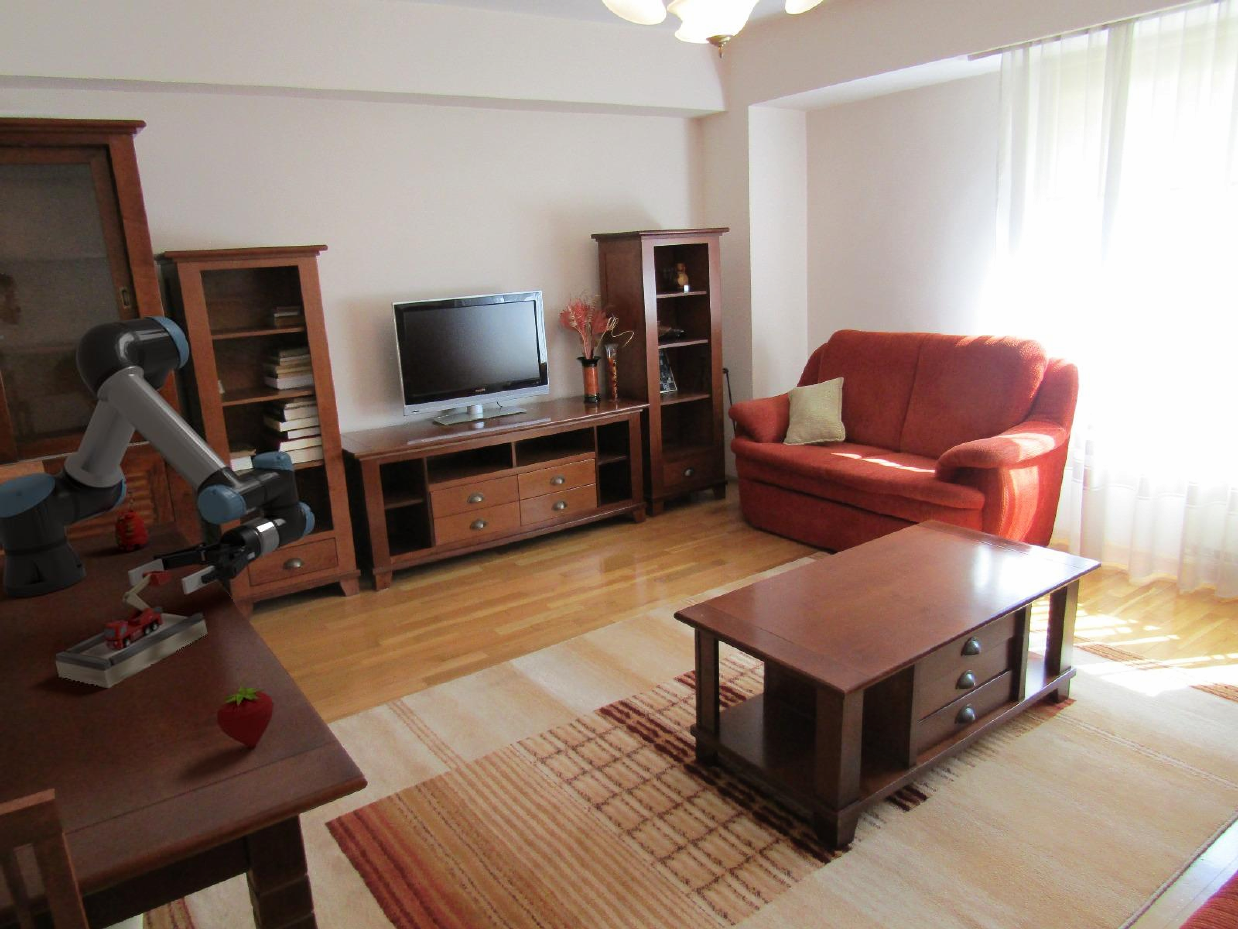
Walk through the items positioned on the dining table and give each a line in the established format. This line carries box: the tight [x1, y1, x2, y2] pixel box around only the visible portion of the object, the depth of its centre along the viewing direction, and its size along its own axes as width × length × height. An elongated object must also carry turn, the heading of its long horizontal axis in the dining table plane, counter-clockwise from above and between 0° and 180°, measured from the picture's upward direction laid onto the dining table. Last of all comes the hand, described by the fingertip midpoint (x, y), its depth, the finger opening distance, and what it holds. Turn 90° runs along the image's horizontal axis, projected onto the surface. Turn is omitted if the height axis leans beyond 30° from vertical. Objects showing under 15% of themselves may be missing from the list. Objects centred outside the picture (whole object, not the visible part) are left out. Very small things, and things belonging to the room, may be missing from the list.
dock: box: [55, 605, 208, 689], centre depth 153 cm, size 20×12×4 cm, turn 157°
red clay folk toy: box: [114, 484, 150, 552], centre depth 209 cm, size 8×7×15 cm
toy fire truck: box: [103, 570, 172, 649], centre depth 153 cm, size 3×14×10 cm, turn 164°
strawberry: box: [216, 679, 275, 748], centre depth 122 cm, size 6×8×10 cm
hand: (156, 582), depth 156 cm, fingers open, 13 cm apart
